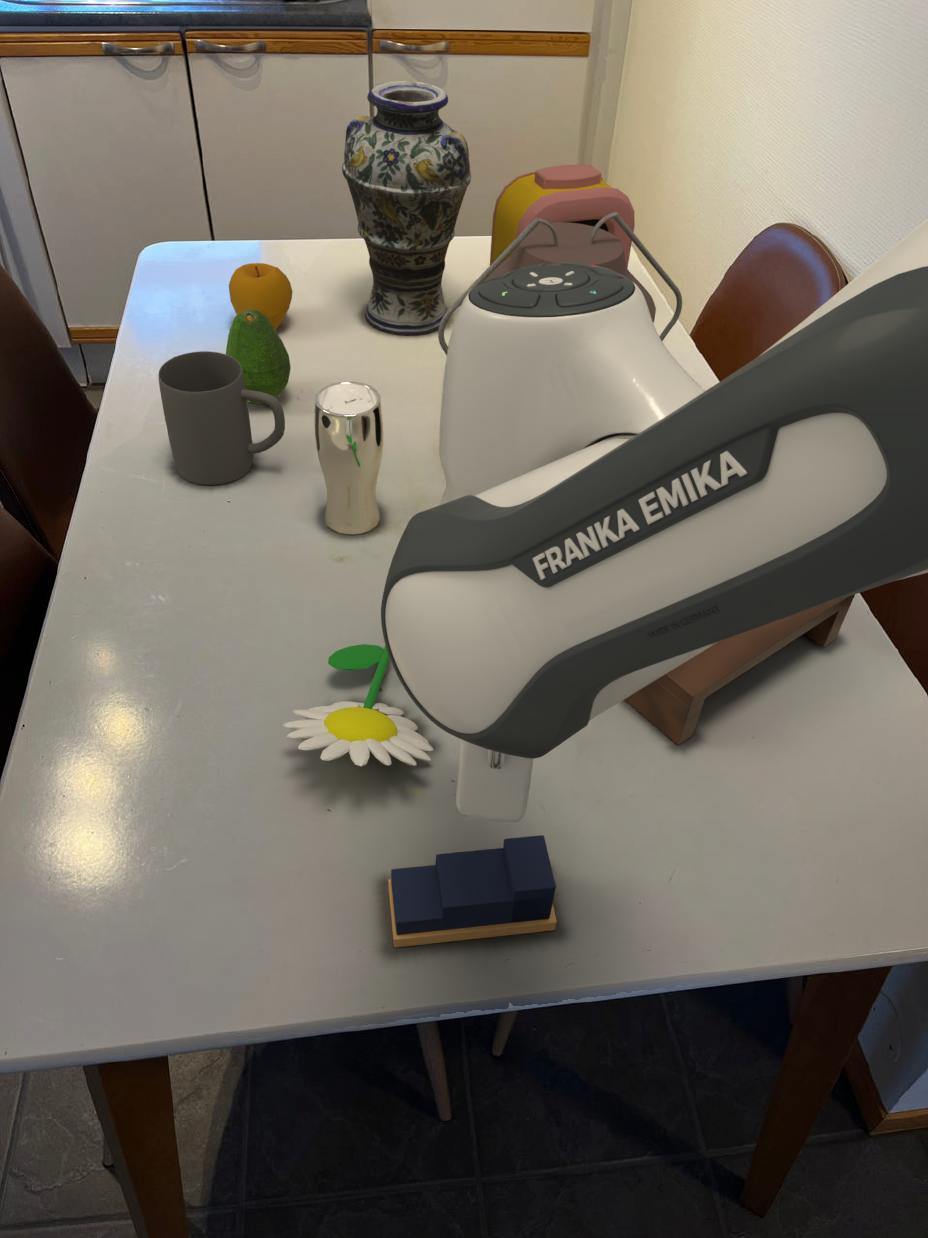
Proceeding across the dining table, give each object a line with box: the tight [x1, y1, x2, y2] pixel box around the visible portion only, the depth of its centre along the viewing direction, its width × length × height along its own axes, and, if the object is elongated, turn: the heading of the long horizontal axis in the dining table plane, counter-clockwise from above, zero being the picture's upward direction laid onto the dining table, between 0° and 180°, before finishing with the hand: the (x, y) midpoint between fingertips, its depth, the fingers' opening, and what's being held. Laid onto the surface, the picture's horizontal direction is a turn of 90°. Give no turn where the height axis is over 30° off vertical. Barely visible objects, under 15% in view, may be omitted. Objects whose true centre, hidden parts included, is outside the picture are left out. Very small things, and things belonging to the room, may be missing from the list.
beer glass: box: [314, 381, 384, 536], centre depth 101 cm, size 7×7×15 cm
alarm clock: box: [489, 164, 635, 269], centre depth 140 cm, size 18×11×19 cm, turn 112°
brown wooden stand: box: [623, 594, 856, 746], centre depth 94 cm, size 19×23×6 cm
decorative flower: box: [282, 643, 435, 767], centre depth 88 cm, size 13×5×30 cm
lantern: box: [437, 212, 683, 357], centre depth 105 cm, size 25×19×30 cm
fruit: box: [225, 310, 292, 405], centre depth 119 cm, size 8×8×12 cm
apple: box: [228, 262, 293, 330], centre depth 134 cm, size 8×8×9 cm
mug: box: [157, 350, 286, 486], centre depth 108 cm, size 14×9×12 cm
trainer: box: [387, 834, 558, 948], centre depth 71 cm, size 12×5×6 cm, turn 98°
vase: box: [341, 80, 472, 337], centre depth 132 cm, size 17×17×30 cm
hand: (499, 737), depth 61 cm, fingers open, 8 cm apart
